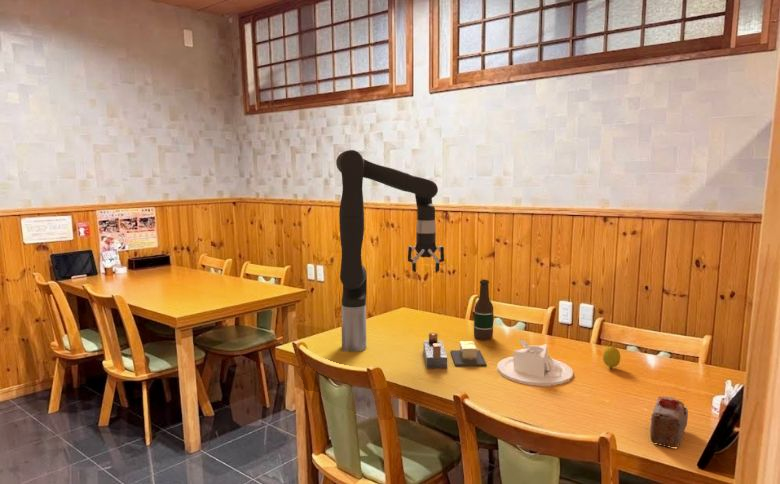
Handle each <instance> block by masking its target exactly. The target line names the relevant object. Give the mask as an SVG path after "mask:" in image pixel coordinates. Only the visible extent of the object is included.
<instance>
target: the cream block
mask: <svg viewBox="0 0 780 484" xmlns="http://www.w3.org/2000/svg"><path fill="white" fill-rule="evenodd" d="M459 350H460V356H461V358H462V361H477V350H478V349H477V347H476V344H475V342H474V340H473V341H472V340H471V341H468V340H467V341H461V340H460V341H459Z"/></svg>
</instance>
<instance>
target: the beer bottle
mask: <svg viewBox="0 0 780 484" xmlns="http://www.w3.org/2000/svg"><path fill="white" fill-rule="evenodd" d="M479 284H480V287H479V297H478V299H477V301H476V303H475V305H474V311H473V313H474V314H473V316H474V317H473V337H474V338H475V339H476V340H479V341H480V340H481V341H490V340H492V338H493V336H494V305H493V302H492V301H491V300H490V290H489V289H490V288H489V284H490V281H489V279H480V280H479Z"/></svg>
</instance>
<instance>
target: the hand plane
mask: <svg viewBox="0 0 780 484" xmlns="http://www.w3.org/2000/svg"><path fill="white" fill-rule="evenodd" d="M423 354H424V355H423V356H424V360H425V365H426V366H425V367H426V369H428V370H429V369H432V370H433V369H434V370H435V369H442V370H443V369H448V356H447V352H446V349H445V346H444V342H443V340H438V333H436V332H430V333H428V340H423Z"/></svg>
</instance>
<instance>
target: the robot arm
mask: <svg viewBox="0 0 780 484" xmlns="http://www.w3.org/2000/svg"><path fill="white" fill-rule="evenodd" d="M335 163H336V164H335V165H336V168H337V169H338V171H339V172H340V173H341V181H342V191H341V199H340V203H339V204H340V205H339V212H338V214H339V215H338V216H339V217H338V219H339V221H338V222H339V235H340V246H341V247H340V248H341V259H340V260H341V261H340V263H341V264H340V271H339V279H340V282H341V285H342V295H341V351H346V352H351V353H352V352H361V351H364V350H366V349H367V293H368V292H367V288H368V287H367V286H368V283H367V282H368V281H367V280H368V279H367V270H366V267H365V266H364V265H363V262H362V248H363V241H364V233H365V209H364V208H365V207H364V194H363V181H364V179H368V180H370V181H371V180H372V181H374V182H378V183H380V184H383V185H385V186H388V187H391V188H393V189H395V190H396V189H397V190H399V191H401V192H406V193H412V194H414V197H415V203H416V209H417V210H416V226H415V227H416V228H415V230H416V234H415V235H416V236H415V237H416V240H415V242H416V244H415V246H411V245H409V246H408V247H407V249H408V250H407V261H408V262H410V263H411V269H412V272H413V273H417V261H418V260H419V259H420V257H421V258H433V260H434V261H435V271H434V272H435V273H438V272H439V271H440V264H441V263H443V262H445V247H444V246H443V245H440V246H437V245H436V244H437V243H436V241H437V240H436V232H437V231H436V228H437V227H436V225H437V224H436V207H435V206H434V205H433V198H435V196H437V194H438V191H439V188H438V185H437V184H436V183H435V181H433V180H431V179H427V178H424V177H420V176H416V175H413V174H411V173H408V172H405V171H403V170H399V169H397V168H393V167H390V166H385V165H381V164H378V163H374V162H372V161H369V160H366V159H365V158H364V157H363V155H362V154H361V153H360V152H359V151H357V150H354V149H349V150H345V151H342V152H340V154H338V156H337V158H336V162H335ZM414 250H415V251H416V254H415V256H414V257H413V258H412V253H413V252H414ZM436 251H437V252H439V254H440V258H438V257H437V256H436V254H435V253H436Z"/></svg>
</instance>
